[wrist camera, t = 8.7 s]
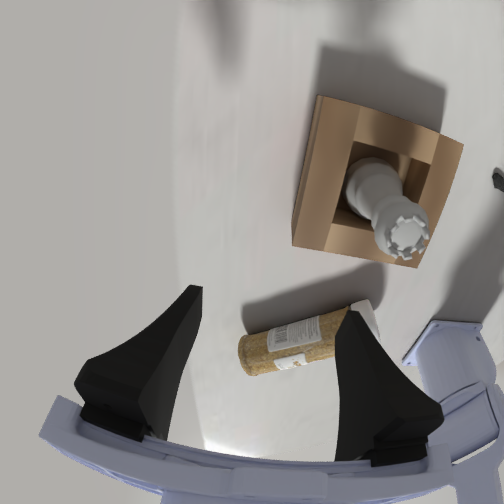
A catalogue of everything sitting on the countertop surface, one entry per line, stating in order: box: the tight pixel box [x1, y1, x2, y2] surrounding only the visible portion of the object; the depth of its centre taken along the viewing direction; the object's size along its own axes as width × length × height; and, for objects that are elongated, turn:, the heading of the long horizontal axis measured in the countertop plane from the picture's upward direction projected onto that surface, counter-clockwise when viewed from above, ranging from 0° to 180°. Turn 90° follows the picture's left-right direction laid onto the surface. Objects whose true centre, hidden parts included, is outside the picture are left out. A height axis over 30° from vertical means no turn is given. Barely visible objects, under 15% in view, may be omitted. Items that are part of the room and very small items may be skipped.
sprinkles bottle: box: [238, 299, 380, 376], centre depth 26 cm, size 5×5×14 cm
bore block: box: [291, 95, 464, 268], centre depth 18 cm, size 10×10×4 cm
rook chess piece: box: [342, 157, 430, 260], centre depth 16 cm, size 4×4×8 cm
